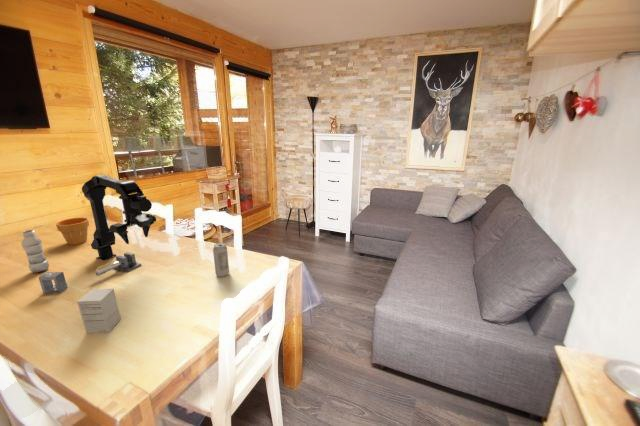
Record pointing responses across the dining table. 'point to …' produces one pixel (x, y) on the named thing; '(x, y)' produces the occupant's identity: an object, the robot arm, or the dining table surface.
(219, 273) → the energy drink can
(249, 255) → the dining table surface
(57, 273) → the hollow rectangular metal block
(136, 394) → the dining table surface
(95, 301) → the supplement box
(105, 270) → the shaft stand
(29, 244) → the plastic bottle
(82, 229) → the flower pot
